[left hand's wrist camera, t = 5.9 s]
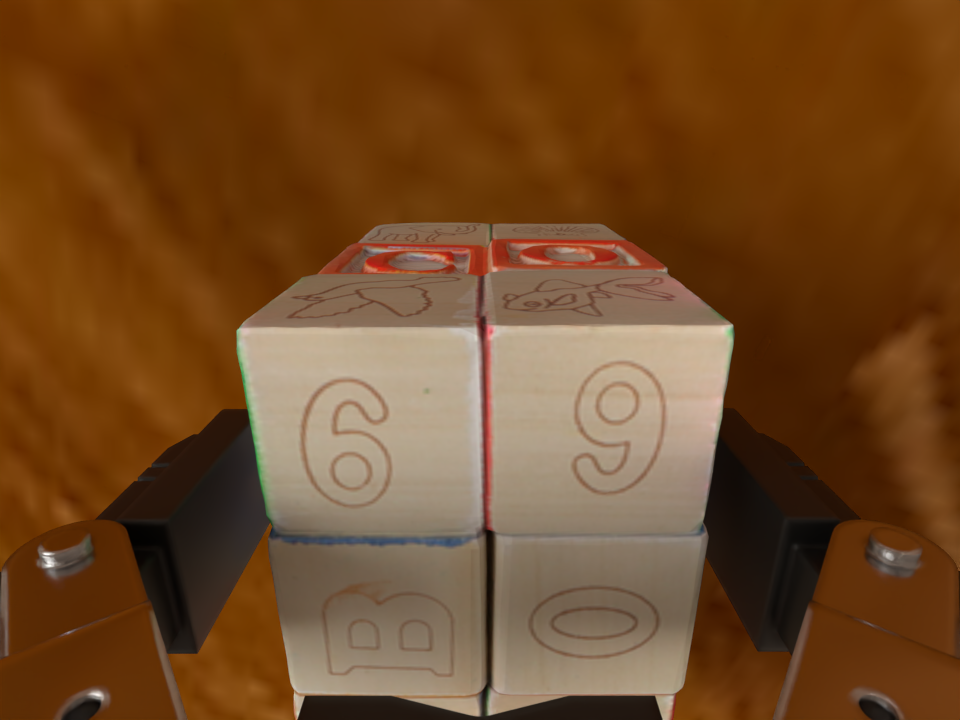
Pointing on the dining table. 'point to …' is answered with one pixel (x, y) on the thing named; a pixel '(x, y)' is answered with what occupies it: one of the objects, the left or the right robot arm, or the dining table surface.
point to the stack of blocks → (487, 465)
